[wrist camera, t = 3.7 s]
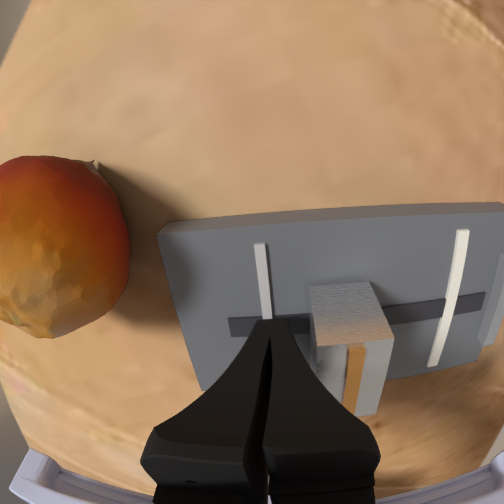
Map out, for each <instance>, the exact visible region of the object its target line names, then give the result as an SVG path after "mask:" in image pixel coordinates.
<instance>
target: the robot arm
mask: <svg viewBox="0 0 504 504" xmlns="http://www.w3.org/2000/svg"><path fill="white" fill-rule="evenodd" d="M380 457H381V455H380V451H379V448H378V445H377V442H376V440H375V438H374V436H373V434H372V432H371V430H370V428H369V426H368V425H366V424H365V423H363V422H362V421H361V420H359V419H358V418H357V417H356V416H354V415H353V414H352V413H351V412H350V411H348V410H347V409H346V408H345V407H344V406H343V405H342V404H341V403H340V402H339V401H338V400H337V399H336V398H335V397H334V396H333V395H332V394H331V393H330V392H329V391H328V390H327V389H326V387H325V386H324V385H323V384H322V383H321V381H320V380H319V379H318V377H317V376H316V375H315V373H314V372H313V371H312V369H311V368H310V366H309V364H308V363H307V361H306V359H305V358H304V356H303V354H302V352H301V350H300V348H299V347H298V345H297V342H296V340H295V338H294V335H293V333H292V330H291V326H290V320H289V319H287V318H277V319H259V320H257V321H256V322H255V324H254V326H253V329H252V331H251V333H250V334H249V336H248V338H247V340H246V342H245V343H244V345H243V346H242V348H241V350H240V351H239V353H238V354H237V356H236V357H235V358H234V360H233V361H232V362H231V364H230V365H229V366H228V368H227V369H226V370H225V371H224V373H223V374H222V375H221V376H220V377H219V378H218V379H217V381H216V382H215V383H214V384H213V385H212V386H211V387H210V388H209V389H208V390H207V391H206V392H204V393H203V394H202V395H201V396H200V397H199V398H198V399H197V400H195V401H194V402H193V403H191V404H190V405H189V406H187V407H186V408H185V409H183V410H182V411H181V412H179V413H178V414H176V415H175V416H173V417H171V418H170V419H168V420H166V421H165V422H163V423H161V424H159V425H157V426H156V427H154V428H153V430H152V432H151V434H150V436H149V438H148V440H147V442H146V445H145V448H144V451H143V453H142V456H141V459H140V464H141V465H142V467H143V468H144V470H145V471H146V472H147V473H148V474H149V475H150V477H151V478H152V479H153V480H154V481H155V482H156V483H157V487H156V491H155V494H154V496H151V495H147V494H142V493H138V492H134V491H130V490H127V489H123V488H119V487H116V486H113V485H109V484H106V483H103V482H100V481H97V480H94V479H91V478H88V477H85V476H82V475H80V474H77V473H74V472H72V471H69V470H67V469H64V468H62V467H61V466H60V465H59V464H58V463H57V462H56V461H55V460H54V459H52V458H51V457H49V456H47V455H45V454H43V453H41V452H39V451H36V450H34V449H32V448H30V449H29V451H28V453H27V455H26V456H25V458H24V460H23V462H22V464H21V466H20V467H19V470H18V471H17V473H16V475H15V477H14V479H13V481H12V483H11V485H10V487H9V489H10V490H11V491H12V492H13V493H15V494H16V495H17V496H19V497H20V498H21V499H23V500H24V501H25V502H27V503H28V504H504V450H503V451H501V452H500V453H499V454H497V455H496V456H495V457H494V458H493V459H492V461H491V462H490V463H489V464H487V465H485V466H483V467H480V468H478V469H475V470H473V471H470V472H468V473H465V474H463V475H460V476H457V477H455V478H452V479H449V480H446V481H443V482H440V483H437V484H434V485H431V486H427V487H424V488H420V489H417V490H413V491H409V492H405V493H401V494H397V495H393V496H388V497H383V498H378V499H375V495H374V488H373V486H374V485H375V479H374V472H375V470H376V468H377V466H378V464H379V462H380Z"/></svg>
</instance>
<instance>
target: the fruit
mask: <svg viewBox="0 0 504 504" xmlns="http://www.w3.org/2000/svg"><path fill="white" fill-rule="evenodd" d="M93 162H94V160H93V161H90V162H84V161H80V160H70V159H66V158H60V157H55V156H21V157H18V158H15V159H12V160H9V161H7V162H5V163H3V164H2V165H0V320H2V321H4V322H6V323H9V324H12V325H14V326H16V327H18V328H19V329H21V330H23V331H24V332H26V333H28V334H30V335H31V336H33V337H35V338H51V339H54V338H57V337H59V336H63V335H66V334H68V333H70V332H72V331H74V330H76V329H78V328H80V327H82V326H84V325H87V324H89V323H91V322H93V321H95V320H97V319H98V318H100V317H102V316H103V315H105V314H106V313H107V312H108V311H109V310H110V309H111V308H112V307H113V306H114V304H115V303H116V302H117V300H118V299H119V297H120V296H121V294H122V293H123V291H124V289H125V287H126V284H127V281H128V276H129V257H130V238H129V233H128V229H127V226H126V223H125V220H124V217H123V214H122V210H121V206H120V203H119V199H118V196H117V195H116V193H115V192H114V191H113V190H112V188H111V187H110V185H109V184H108V183H107V182H106V181H105V180H104V178H103V177H102V176H101V175H100V174H99V173H98V172H97V170H96V169H95V166H94V164H93Z"/></svg>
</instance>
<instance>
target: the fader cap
mask: <svg viewBox="0 0 504 504" xmlns="http://www.w3.org/2000/svg"><path fill="white" fill-rule="evenodd" d="M309 314H310V367H311V369H312V371H313V372H314V373H315V375H316V376H317V377H318V379H319V380H320V381H321V383H322V384H323V385H324V386H325V387H326V389H327V390H328V391H329V392H330V393H331V394H332V395H333V396H334V397H335V398H336V399H337V400H338V401H339V402H340V403H341V404H342V405H343V406H344V407H345V408H346V409H347V410H348V411H350V412H351V413H352V414H353V415H354V416H356V417H359V416H366V415H372V414H376V411H377V408H378V404H379V401H380V397H381V393H382V390H383V386H384V382H385V378H386V374H387V370H388V366H389V361H390V357H391V353H392V348H393V343H394V335H393V333H392V331H391V328H390V326H389V324H388V322H387V319H386V317H385V315H384V313H383V311H382V308H381V306H380V304H379V302H378V300H377V298H376V295H375V293H374V291H373V289H372V287H371V285H370V283H369V281H364V282H352V283H341V284H328V285H315V286H309Z"/></svg>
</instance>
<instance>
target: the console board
mask: <svg viewBox="0 0 504 504" xmlns="http://www.w3.org/2000/svg"><path fill="white" fill-rule="evenodd" d="M156 236H157V241H158V245H159V249H160V253H161V257H162V261H163V265H164V269H165V273H166V277H167V281H168V284H169V288H170V292H171V295H172V299H173V302H174V306H175V309H176V313H177V316H178V320H179V323H180V326H181V330H182V333H183V336H184V339H185V343H186V346H187V349H188V352H189V355H190V358H191V361H192V364H193V367H194V370H195V373H196V376H197V379H198V382H199V385H200V388H201V391H207V390H208V389H209V388H210V387H211V386H212V385H213V384H214V383H215V382H216V381H217V379H218V378H219V377H220V376H221V375H222V374H223V373H224V371H225V370H226V369H227V368H228V366H229V365H230V364H231V362H232V361H233V360H234V358H235V357H236V356H237V354H238V353H239V351H240V350H241V348H242V346H243V345H244V343H245V342H246V340H247V338H248V336H249V334H250V333H251V331H252V329H253V326H254V324H255V322H256V321H257V320H259V319H277V318H287V319H289V320H290V326H291V330H292V333H293V335H294V338H295V340H296V342H297V345H298V347H299V348H300V350H301V352H302V354H303V356H304V358H305V359H306V361H307V363H308V364H309V366H310V314H309V286H315V285H328V284H341V283H352V282H364V281H369V283H370V285H371V287H372V289H373V291H374V293H375V295H376V298H377V300H378V302H379V304H380V306H381V308H382V311H383V313H384V315H385V317H386V319H387V322H388V324H389V326H390V328H391V331H392V333H393V335H394V343H393V348H392V353H391V357H390V361H389V366H388V370H387V374H386V378H385V381H386V380H392V379H398V378H404V377H409V376H415V375H420V374H425V373H429V372H434V371H439V370H443V369H447V368H451V367H456V366H460V365H463V364H467V363H471V362H475V361H477V359H478V356H479V354H480V352H481V349H482V347H483V346H487V345H490V344H493V343H494V341H495V338H496V336H497V333H498V330H499V328H500V325H501V322H502V319H503V316H504V204H502V203H500V202H484V203H431V204H402V205H379V206H359V207H342V208H326V209H311V210H296V211H283V212H271V213H258V214H247V215H236V216H225V217H215V218H204V219H195V220H185V221H176V222H168V223H167V224H166V225H165V226H164V227H163V228H162V229H161V230H160V231H159V232H158V233H157V234H156ZM310 368H311V367H310Z"/></svg>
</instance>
